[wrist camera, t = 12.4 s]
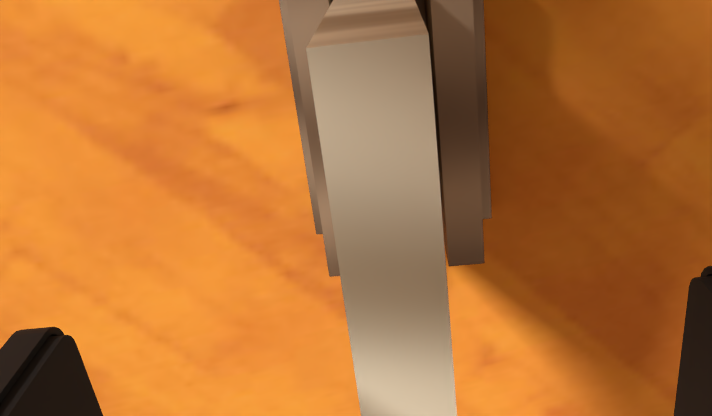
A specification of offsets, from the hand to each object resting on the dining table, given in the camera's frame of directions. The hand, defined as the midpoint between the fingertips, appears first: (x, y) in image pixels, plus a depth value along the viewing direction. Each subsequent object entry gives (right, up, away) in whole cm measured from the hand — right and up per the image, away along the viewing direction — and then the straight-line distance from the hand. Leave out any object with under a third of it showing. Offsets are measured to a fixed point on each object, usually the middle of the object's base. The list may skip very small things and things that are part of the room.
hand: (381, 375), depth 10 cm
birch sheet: (+1, +7, +17) cm, 19 cm away
